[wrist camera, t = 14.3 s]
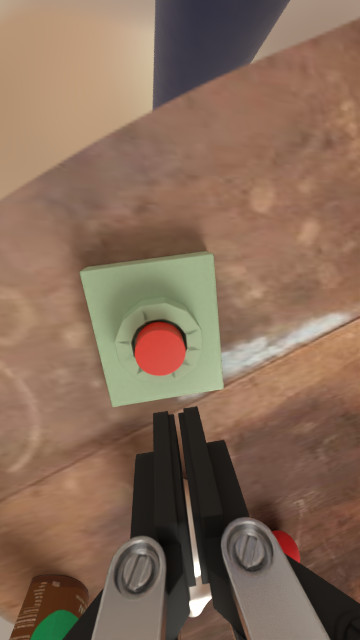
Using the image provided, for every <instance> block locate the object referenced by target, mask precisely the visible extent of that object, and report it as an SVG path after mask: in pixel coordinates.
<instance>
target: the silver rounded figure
mask: <svg viewBox="0 0 360 640" xmlns="http://www.w3.org/2000/svg"><path fill="white" fill-rule="evenodd" d="M183 480H184V488H185V497H186V505H187V513H188V521H189V529H190V538H191V546H192V554H193V562H194V570H195V579H196V586H193V587H189V589H190V599H191V601H189V602H190V614H189V616H190V617H195V616H198V615H199V614H200V613H201V612H202V610H203V608H204V607H205V605H206V604H207V603H208V602H209V600H210V599H211V598H212V596H211V590H210V584H209V583H208V584H203V585H202V579H201V572H200V566H199V559H198V552H197V545H196V538H195V531H194V524H193V517H192V510H191V503H190V496H189V488H188V481H187V480H186V479H183Z"/></svg>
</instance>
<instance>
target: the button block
mask: <svg viewBox="0 0 360 640" xmlns="http://www.w3.org/2000/svg"><path fill="white" fill-rule="evenodd" d="M80 276H81V280H82V285H83V289H84V293H85V297H86V301H87V305H88V309H89V313H90V317H91V322H92V326H93V330H94V334H95V338H96V342H97V346H98V350H99V354H100V358H101V363H102V367H103V371H104V375H105V379H106V383H107V387H108V391H109V395H110V400H111V404H112V407H116V406H122V405H128V404H134V403H140V402H147V401H153V400H159V399H165V398H171V397H177V396H183V395H189V394H195V393H202V392H208V391H214V390H220V389H223V388H224V387H223V373H222V360H221V347H220V334H219V320H218V307H217V294H216V280H215V267H214V254H213V253H211V252H208V251H203V252H195V253H188V254H180V255H173V256H165V257H158V258H150V259H143V260H135V261H128V262H120V263H113V264H106V265H98V266H91V267H86V268H84V269H83V270H81V271H80ZM154 322H166V323H169V324H171V325H173V326H175V327H176V328H177V329H178V330H179V332H180V333H181V335H182V338H183V342H184V345H185V349H186V354H185V359H184V361H183V363H182V365H181V366H180V367H179V368H178V369H177V370H176V371H174V372H173V373H171V374H168V375H164V376H155V375H151V374H148V373H146V372H145V371H143V370H142V369H141V368H140V367H139V365H138V364H137V362H136V359H135V345H136V338H137V336H138V334H139V332H140V331H141V330H142V329H143V328H144V327H145V326H147V325H148V324H151V323H154Z"/></svg>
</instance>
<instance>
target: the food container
mask: <svg viewBox="0 0 360 640" xmlns="http://www.w3.org/2000/svg"><path fill="white" fill-rule="evenodd" d="M88 599H89V596H88V591H87V588H86V587H85V586H84V585H83V584H82V583H81V582H79V581H77V580H75V579H73V578H70V577H67V576H61V575H44V576H38V577H34V578H33V579H32V582H31V584H30V587H29V590H28V592H27V595H26V597H25V600H24V603H23V605H22V608H21V610H20V613H19V616H18V618H17V621H16V624H15V626H14V629H13V631H12V634H11V637H10V639H9V640H62V639H63V638H64V637H65V635H66V634H67V633H68V632H69V630H70V629H71V628H72V627H73V625H74V624H75V623H76V622H77V621H78V619H79V618H80V617H81V616H82V614H83V613H84V612H85V611H86V609H87V608H88Z"/></svg>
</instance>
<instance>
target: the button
mask: <svg viewBox="0 0 360 640" xmlns="http://www.w3.org/2000/svg"><path fill="white" fill-rule="evenodd" d="M185 354H186V349H185V345H184V342H183V338H182V335H181V333H180V332H179V330H178V329H177V328H176V327H175V326H173V325H171V324H169V323H166V322H154V323H151V324H148V325H147V326H145V327H144V328H143V329H142V330H141V331H140V332H139V334H138V336H137V338H136V345H135V359H136V362H137V364H138V365H139V367H140V368H141V369H142V370H143V371H145V372H146V373H148V374H151V375H155V376H164V375H168V374H171V373H173V372H174V371H176V370H177V369H178V368H179V367H180V366H181V365H182V363H183V361H184V359H185Z"/></svg>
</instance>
